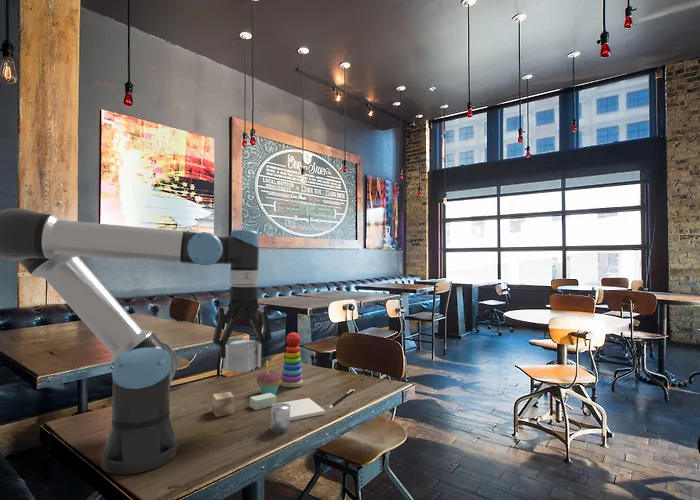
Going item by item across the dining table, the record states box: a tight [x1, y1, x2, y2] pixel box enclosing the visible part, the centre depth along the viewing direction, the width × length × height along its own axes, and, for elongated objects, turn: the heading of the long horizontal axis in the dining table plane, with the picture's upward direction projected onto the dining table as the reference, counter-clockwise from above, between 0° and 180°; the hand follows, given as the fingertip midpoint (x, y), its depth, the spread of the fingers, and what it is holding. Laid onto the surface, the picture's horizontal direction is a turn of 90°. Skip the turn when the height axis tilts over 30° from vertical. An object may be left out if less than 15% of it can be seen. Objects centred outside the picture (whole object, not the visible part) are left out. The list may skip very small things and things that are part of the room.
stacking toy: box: [280, 332, 304, 389], centre depth 144 cm, size 8×8×19 cm
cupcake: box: [256, 360, 282, 395], centre depth 135 cm, size 9×8×12 cm
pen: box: [329, 388, 355, 409], centre depth 131 cm, size 1×19×1 cm, turn 156°
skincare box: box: [227, 339, 258, 373], centre depth 111 cm, size 6×6×7 cm
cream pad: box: [272, 397, 326, 422], centre depth 120 cm, size 12×12×1 cm
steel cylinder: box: [270, 402, 291, 434], centre depth 107 cm, size 5×5×6 cm
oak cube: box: [212, 391, 235, 418], centre depth 118 cm, size 5×5×5 cm
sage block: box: [249, 393, 278, 411], centre depth 124 cm, size 7×4×3 cm, turn 130°
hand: (242, 367), depth 111 cm, fingers closed on skincare box, 8 cm apart
